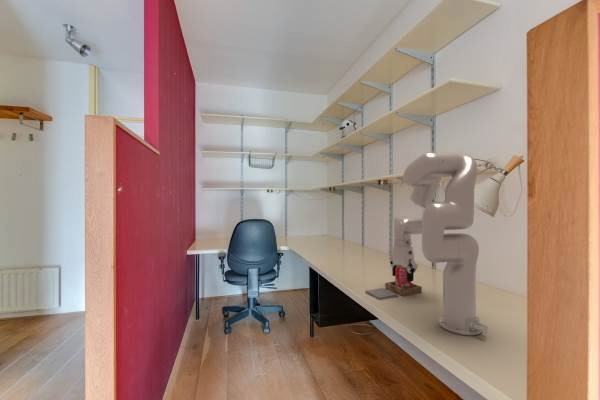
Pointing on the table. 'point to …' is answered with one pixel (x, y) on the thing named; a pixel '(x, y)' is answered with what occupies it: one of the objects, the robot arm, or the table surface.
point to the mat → (381, 293)
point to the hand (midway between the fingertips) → (402, 278)
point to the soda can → (401, 277)
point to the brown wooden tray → (403, 289)
